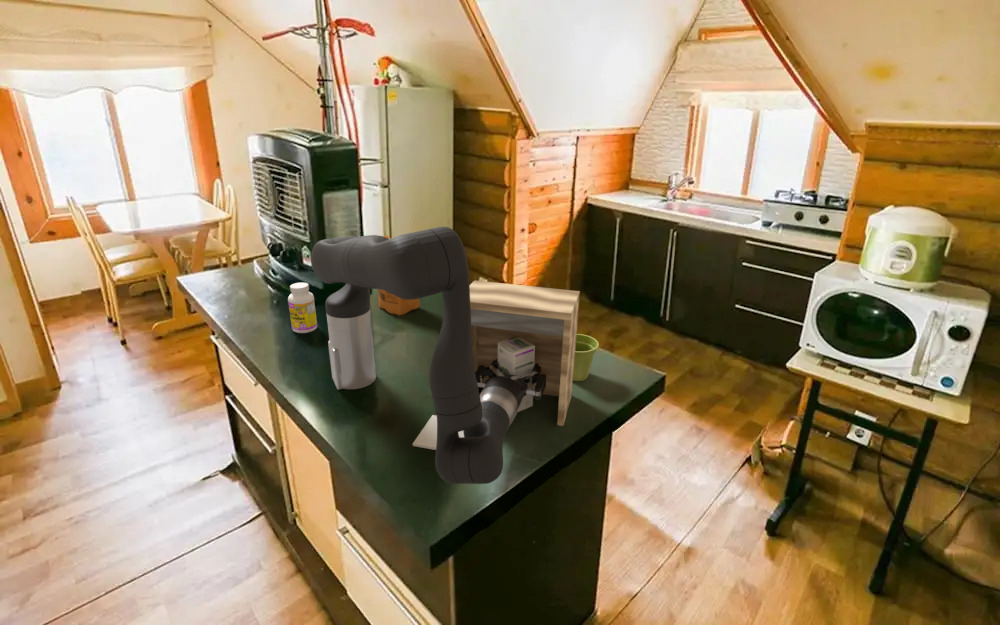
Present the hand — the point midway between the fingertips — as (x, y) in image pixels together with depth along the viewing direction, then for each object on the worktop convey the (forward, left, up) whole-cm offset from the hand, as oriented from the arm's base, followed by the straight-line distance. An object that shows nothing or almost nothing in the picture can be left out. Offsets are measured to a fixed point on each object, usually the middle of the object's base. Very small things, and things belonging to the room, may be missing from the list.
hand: (517, 364), depth 113 cm
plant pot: (+18, +4, -9) cm, 20 cm away
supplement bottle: (-35, +58, -9) cm, 68 cm away
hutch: (-1, -1, -9) cm, 9 cm away
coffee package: (-7, +62, -9) cm, 63 cm away
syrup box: (-1, -1, -9) cm, 9 cm away
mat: (-18, -5, -9) cm, 21 cm away
